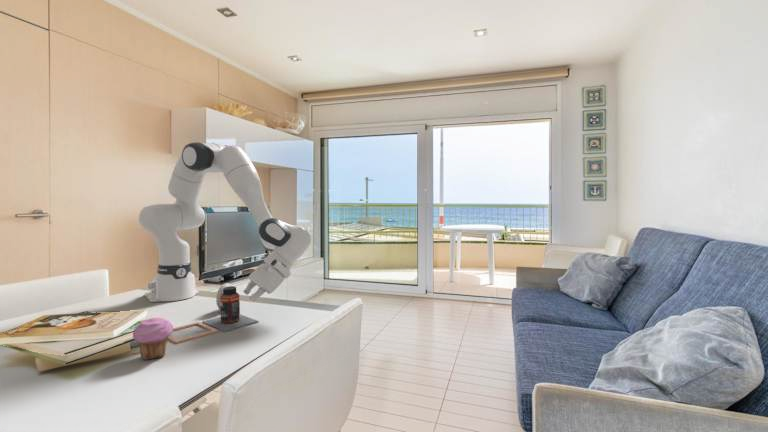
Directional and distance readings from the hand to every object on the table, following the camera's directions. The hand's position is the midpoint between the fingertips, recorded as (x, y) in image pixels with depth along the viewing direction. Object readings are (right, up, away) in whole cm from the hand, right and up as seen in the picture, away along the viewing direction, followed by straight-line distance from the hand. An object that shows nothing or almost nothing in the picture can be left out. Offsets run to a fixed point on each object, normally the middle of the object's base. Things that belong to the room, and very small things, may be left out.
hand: (248, 296), depth 122 cm
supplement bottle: (-5, -8, -3) cm, 10 cm away
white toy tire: (-12, -8, +11) cm, 18 cm away
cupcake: (-14, -9, -29) cm, 33 cm away
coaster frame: (-14, -8, -12) cm, 20 cm away
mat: (-5, -8, -3) cm, 10 cm away
